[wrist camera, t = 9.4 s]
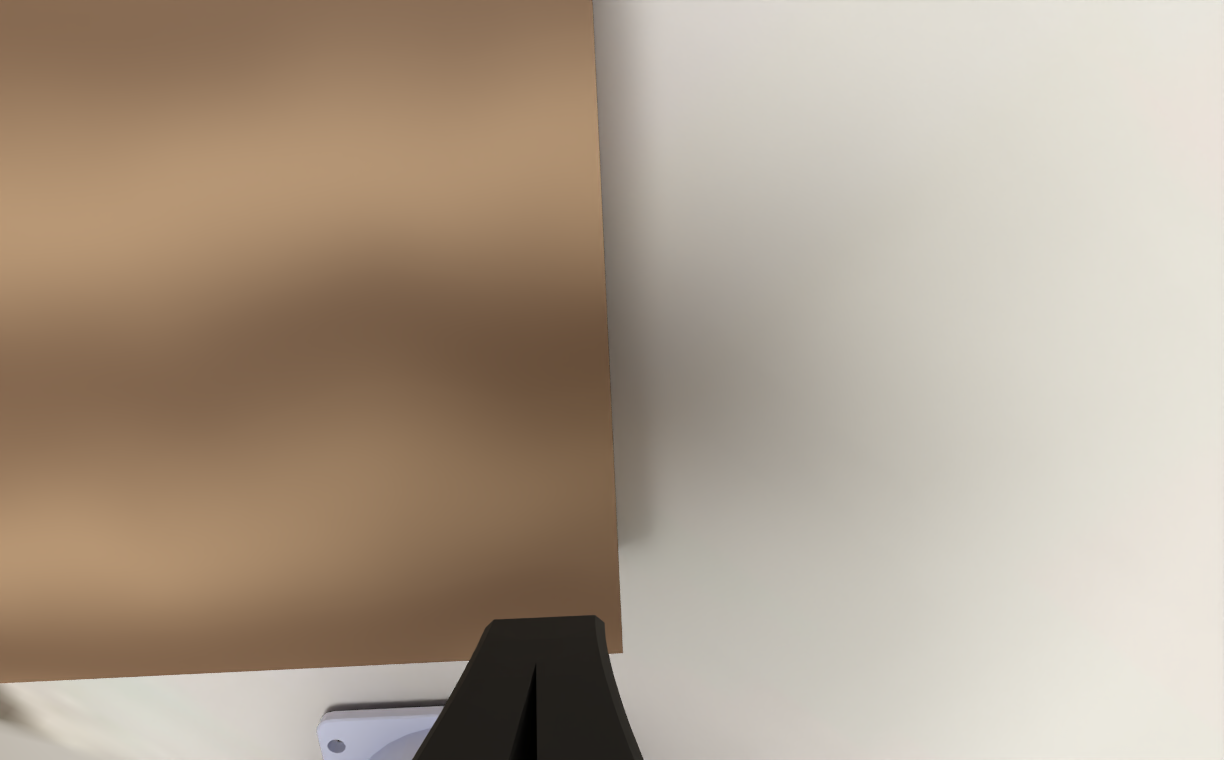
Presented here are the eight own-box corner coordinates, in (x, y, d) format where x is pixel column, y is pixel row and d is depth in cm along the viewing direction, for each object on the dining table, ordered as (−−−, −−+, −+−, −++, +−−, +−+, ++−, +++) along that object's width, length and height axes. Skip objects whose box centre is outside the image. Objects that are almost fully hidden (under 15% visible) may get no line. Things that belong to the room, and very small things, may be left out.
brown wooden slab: (617, 548, 21) (622, 653, 18) (-49, 580, 21) (-184, 691, 17) (590, -33, 16) (589, -60, 12) (-304, 7, 16) (-578, -7, 12)
